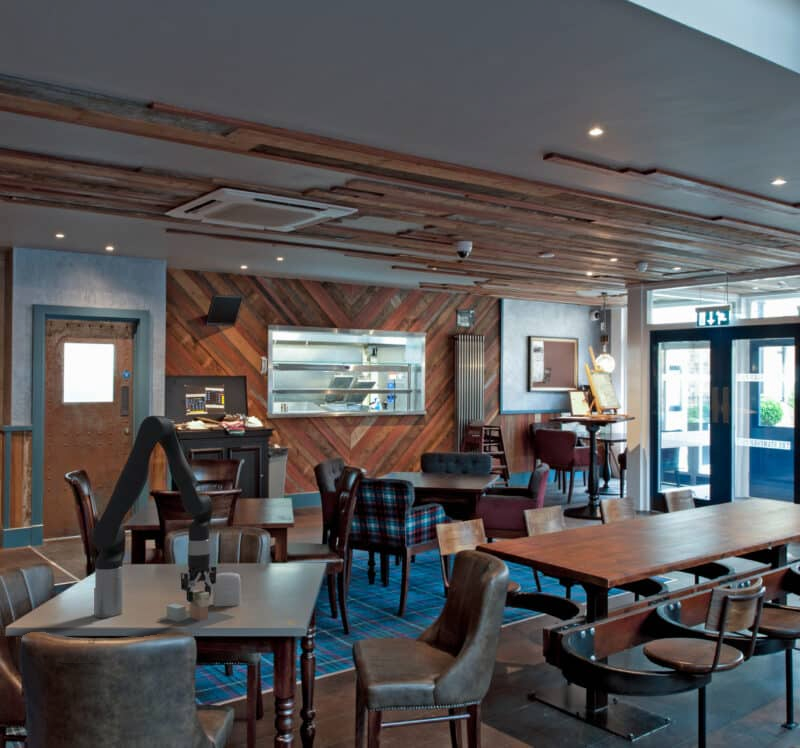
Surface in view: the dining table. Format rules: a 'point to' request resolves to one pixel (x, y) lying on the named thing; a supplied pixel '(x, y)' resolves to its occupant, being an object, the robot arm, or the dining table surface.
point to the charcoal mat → (195, 624)
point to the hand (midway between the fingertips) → (198, 599)
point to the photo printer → (227, 590)
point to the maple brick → (200, 598)
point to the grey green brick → (175, 612)
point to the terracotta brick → (198, 612)
